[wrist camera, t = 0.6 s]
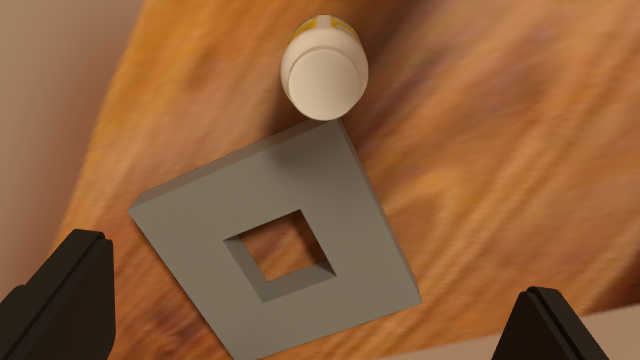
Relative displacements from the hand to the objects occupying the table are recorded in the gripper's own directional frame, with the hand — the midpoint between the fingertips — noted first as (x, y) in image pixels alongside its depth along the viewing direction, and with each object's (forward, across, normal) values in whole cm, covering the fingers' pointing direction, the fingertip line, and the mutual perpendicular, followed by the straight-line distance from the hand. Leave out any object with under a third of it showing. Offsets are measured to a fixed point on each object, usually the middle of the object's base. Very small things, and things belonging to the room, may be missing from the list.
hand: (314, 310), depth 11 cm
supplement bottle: (+27, -1, -1) cm, 27 cm away
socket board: (+27, 0, +15) cm, 31 cm away
